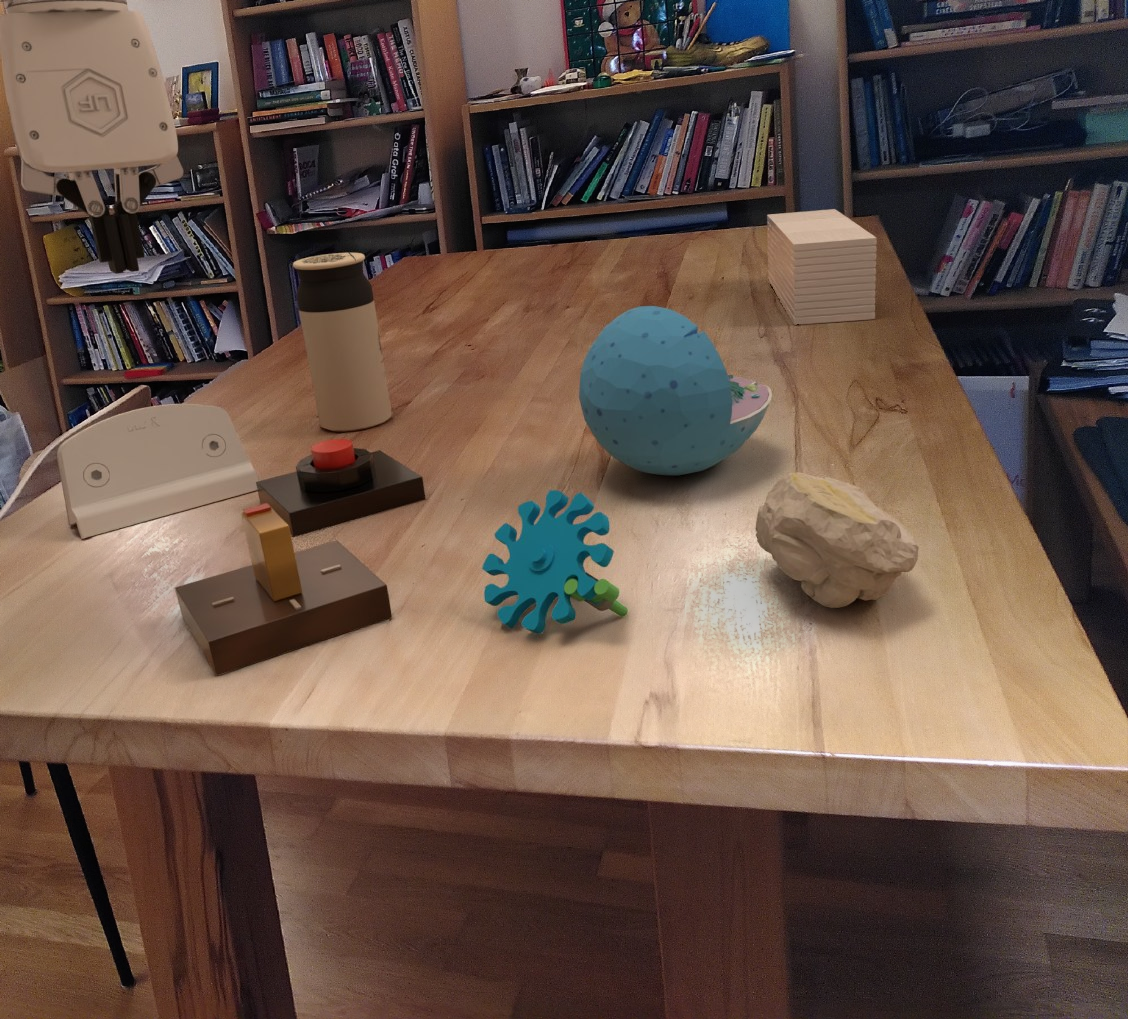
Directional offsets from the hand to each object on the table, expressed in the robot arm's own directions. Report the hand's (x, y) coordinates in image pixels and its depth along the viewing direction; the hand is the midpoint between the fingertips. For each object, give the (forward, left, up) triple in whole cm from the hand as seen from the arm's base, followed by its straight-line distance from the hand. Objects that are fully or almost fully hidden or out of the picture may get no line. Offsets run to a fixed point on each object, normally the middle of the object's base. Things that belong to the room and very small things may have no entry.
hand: (124, 270), depth 76 cm
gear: (+18, -28, -23) cm, 41 cm away
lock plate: (+3, -16, -23) cm, 28 cm away
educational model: (+41, -11, -23) cm, 48 cm away
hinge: (+1, +15, -23) cm, 27 cm away
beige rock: (+34, -37, -23) cm, 55 cm away
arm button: (+14, +3, -19) cm, 24 cm away
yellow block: (+3, -16, -20) cm, 26 cm away
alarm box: (+14, +3, -23) cm, 27 cm away
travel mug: (+24, +26, -23) cm, 42 cm away
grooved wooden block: (+98, +32, -23) cm, 106 cm away
